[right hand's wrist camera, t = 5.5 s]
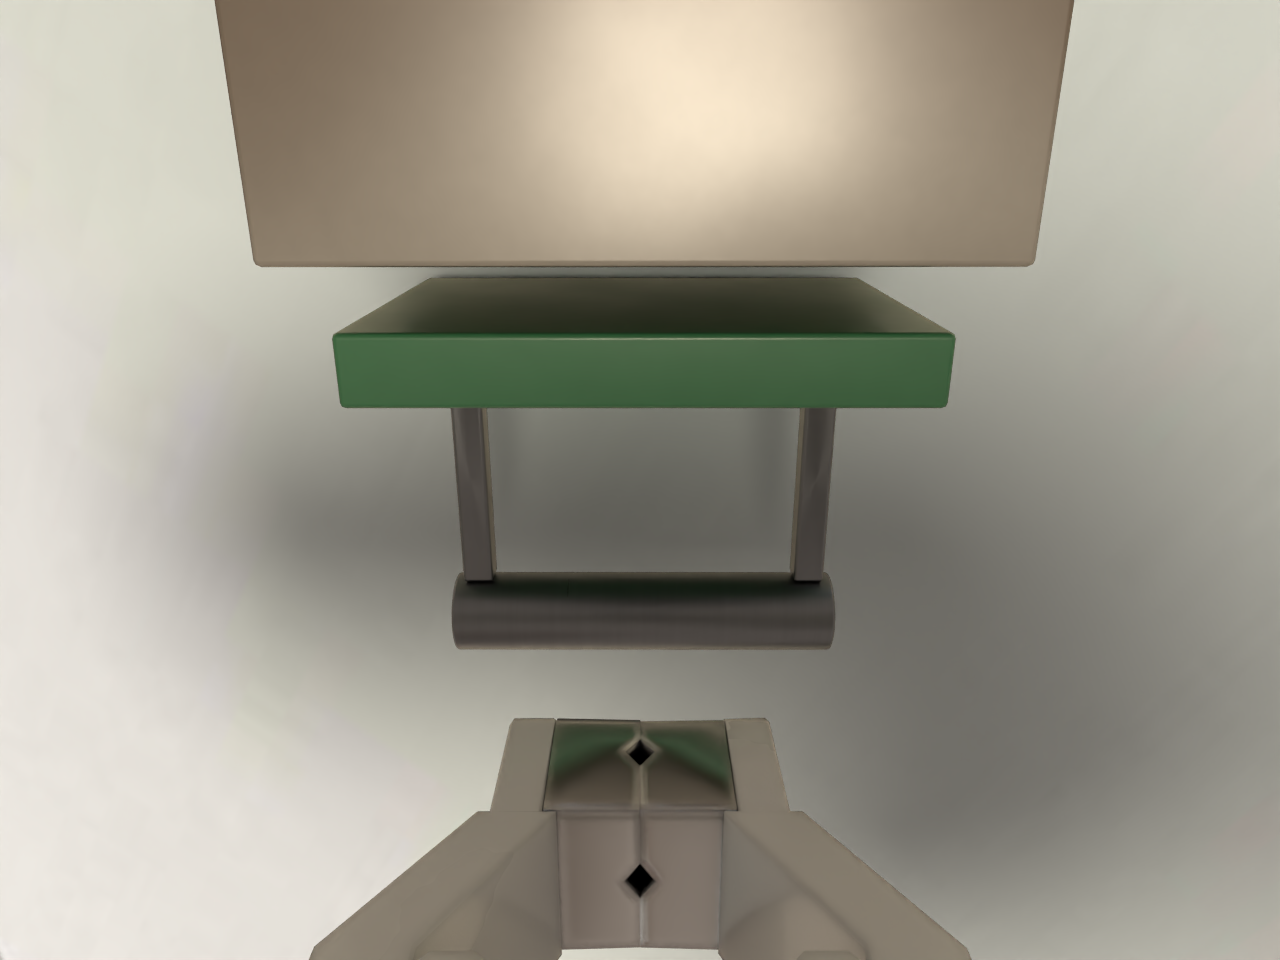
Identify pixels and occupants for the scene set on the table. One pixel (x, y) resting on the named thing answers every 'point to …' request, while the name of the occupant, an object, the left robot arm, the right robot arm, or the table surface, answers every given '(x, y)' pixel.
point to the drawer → (643, 378)
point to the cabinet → (644, 131)
